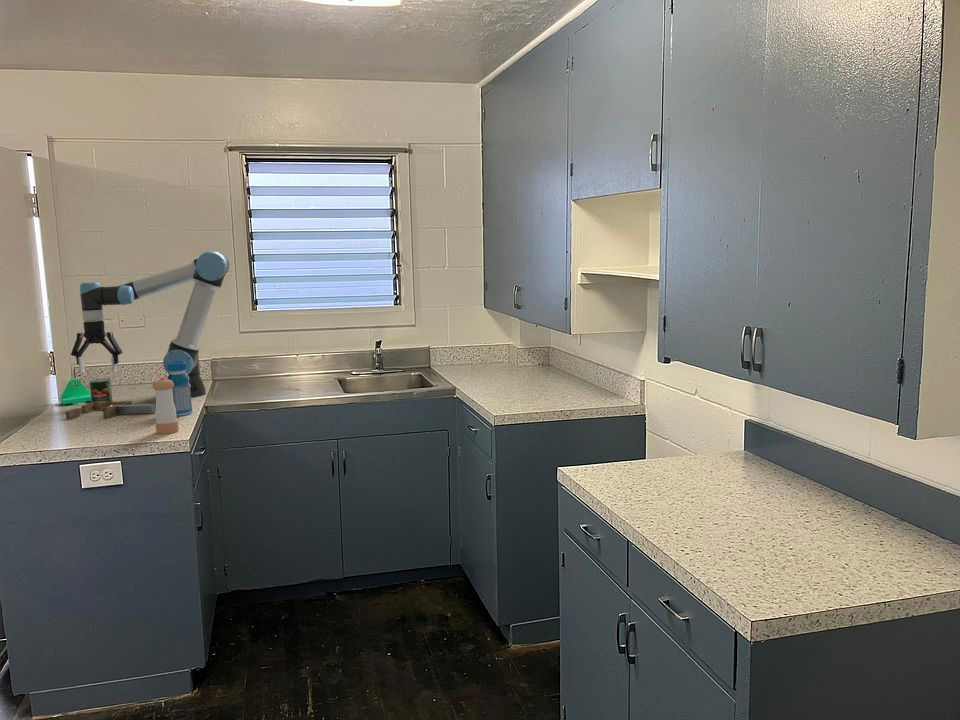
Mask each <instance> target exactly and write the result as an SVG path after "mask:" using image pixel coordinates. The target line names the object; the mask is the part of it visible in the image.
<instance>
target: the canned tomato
mask: <svg viewBox="0 0 960 720" xmlns="http://www.w3.org/2000/svg"><path fill="white" fill-rule="evenodd" d="M88 382H89V390H90V391H89V392H90V393H91V402H109V401H114V400H113V392H112V383H111V378H96V379H91V380H89V381H88Z"/></svg>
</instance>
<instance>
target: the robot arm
mask: <svg viewBox="0 0 960 720" xmlns="http://www.w3.org/2000/svg"><path fill="white" fill-rule="evenodd" d="M229 269H230V262H229V259H228V258H227V256H226V255H225V254H224V253H223V252H220V251H217V250H215V251H214V250H208V251H205V252H203V253H202V254H200V255H199V256H198V258H195V259H192V261H191V262H190V263H188V264H184V265H181V266H178V267H174V268H171V269H168V270H165V271H162V272H158V273H155V274H152V275H149V276H146V277H142V278H140V279H136V280H133V281H130V282H126V283H123V284H121V285H115V286H101V284H100V282H99V281H92V282H81V283H80V284H79V292H80V293H79V296H80V304H81V312H82V313H81V314H82V320H83V321H84V322H82V323H83V330H84V333H83V332H77V333H76V340H75V342H74V343H73V348H72V351H71V353H70V355H71V356H72V357H75V358H76V359H75V360H76V365H77V366H78V368H79V369H78V370H79V374H85V373H86V368H85V358H84V356H83V354H84V352H85V351H86V350H87V349H88V347H89V346H90V345H92V344H100V345H102V346H103V347H104V348H105V349H106V350H107V351H108V352H109V354H111V355H112V356H110V360H111V371H112V373H117V372H118V364H119V363H120V362H119V356H120V355H121V354H123V353H124V352H123V350H122V349H121V347H120V346H119V344H118V342H117V340H116V338H115V336H114V333H113V331H108V332H106V331H105V321H104V312H103V311H104V310H103V306H121V305H123V306H125V305H132V304H133V303H134V301H135V300H138V299H142V298H145V297H148V296H151V295H154V294H157V293H161V292H163V291H167V290H170V289H173V288H176V287H180V286H183V285H186V284H189V283H193V282H194V285H193V288H192V290H191V291H192V292H191V294H190V297H189V300H188V302H187V306H186V309H185V312H184V315H183V317H182V319H181V323H180V326H179V330H178V332H177V335H176V337H175V338H174V339H172V340H171V341H170V343H169V345H168V349H167V352H166V354H165V355H164V356H163V361H162V366H163V368H164V370H165V371H166V372H165V373H167V374H168V375H169V374H170V372H168V367H167V365H168V363H170V362H180V361H182V362H186V368H187V369H186V371H185V372H186V373H187V375H188V376H189V379H190V380H189V383H190V386H191V388H190V393H191V398H193V397H198V396H199V397H200V396H202V395H205V394H207V391H206V389H207V388H206V386H205V384H204V382H203V380H202V377H201V370H200V359H199V352H200V347H199V345H198V343H199V340H200V337H201V334H202V332H203V328H204V326H205V324H206V323H205V322H206V320H207V317H208V314H209V310H210V308H211V305H212V303H213V299H214V296H215V293H216V291H217V290H219V289H221V288H222V285H223V282H224V279H225V275H227V273H228V271H229ZM105 337H106V338H107V339H108V340H107V339H106V338H105ZM84 338H85V340H84V342H83V344H82V341H83V339H84ZM108 341H109V342H108ZM81 344H82V345H81Z"/></svg>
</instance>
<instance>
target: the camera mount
mask: <svg viewBox="0 0 960 720" xmlns="http://www.w3.org/2000/svg"><path fill="white" fill-rule="evenodd" d="M74 383H76V385H74ZM90 401H91V392H90V391H89V390H88V389H87V387H86V386H85V385H84V384H83V383H82V382H81V380H80V379H78V378H76V377H75V378H74V377H73V378H71V379H69V380H68V382H67V384H66V386H65V388H64V389H63V392H62V393H61V396H60V397H59V402H60V403H61V404H63V405H69V404H71V403H73V404H78V403H85V404H87V402H90ZM91 402H92V401H91ZM73 404H72V405H73ZM78 405H79V404H78Z"/></svg>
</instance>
